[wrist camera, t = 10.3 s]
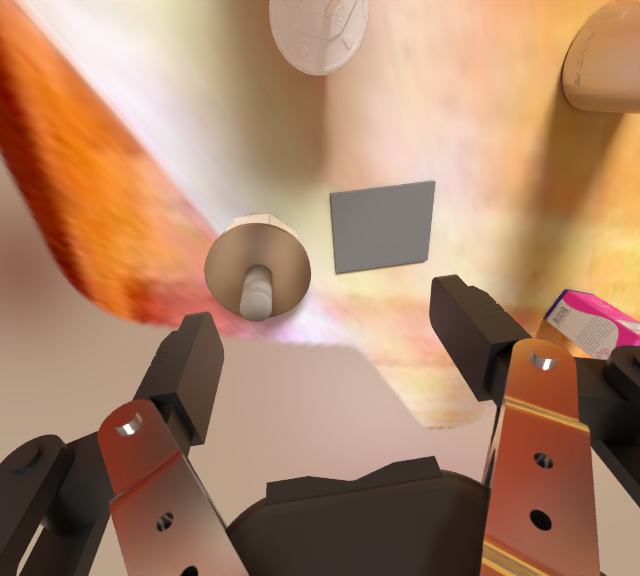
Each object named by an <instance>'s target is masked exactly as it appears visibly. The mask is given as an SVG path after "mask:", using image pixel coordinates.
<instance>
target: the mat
mask: <svg viewBox="0 0 640 576" xmlns="http://www.w3.org/2000/svg"><path fill="white" fill-rule="evenodd" d="M434 191H435V181H426V182H418V183H410V184H403V185H395V186H387V187H379V188H371V189H363V190H355V191H347V192H339V193H331V194H330V200H331V213H332V227H333V240H334V254H335V267H336V273H341V272H348V271H355V270H362V269H370V268H377V267H384V266H391V265H398V264H405V263H413V262H420V261H427V260H428V251H429V241H430V231H431V221H432V211H433V201H434Z"/></svg>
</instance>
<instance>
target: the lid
mask: <svg viewBox="0 0 640 576" xmlns="http://www.w3.org/2000/svg"><path fill="white" fill-rule="evenodd" d="M204 273H205V280H206V284H207V286H208V288H209V290H210V292H211V294H212V295H213V297H214V298H215V299H216V300H217V301H218V302H219V303H220V304H221V305H222V306H224V307H225V308H226V309H228V310H230V311H231V312H234V313H236V314H238V315H241V316H243V317H245V318H246V319H248V320H250V321H262V320H265V319H266V318H269V317H274V316H277V315H281V314H283V313H285V312H287V311H289V310H290V309H292V308H293V307H295V306H296V305H297V304H298V303H299V302H300V301H301V300H302V298H303V297H304V296H305V294H306V292H307V290H308V288H309V284H310V280H311V268H310V263H309V258H308V256H307V253H306V251H305V249H304V247H303V246H302V245H301V243H300V242H299V241H298V240H297V239H296V238H295V237H294V236H293V235H292V234H290V233H289V232H287V231H286V230H284V229H282V228H279V227H277V226H274V225H271V224H265V223H247V224H242V225H239V226H236V227H233V228H231V229H229V230H228V231H226V232H225V233H223V234H222V235H221V236H220V237H219V238H218V239H217V240H216V241H215V242H214V243H213V245H212V247H211V248H210V251H209V253H208V255H207V258H206V262H205V269H204Z"/></svg>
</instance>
